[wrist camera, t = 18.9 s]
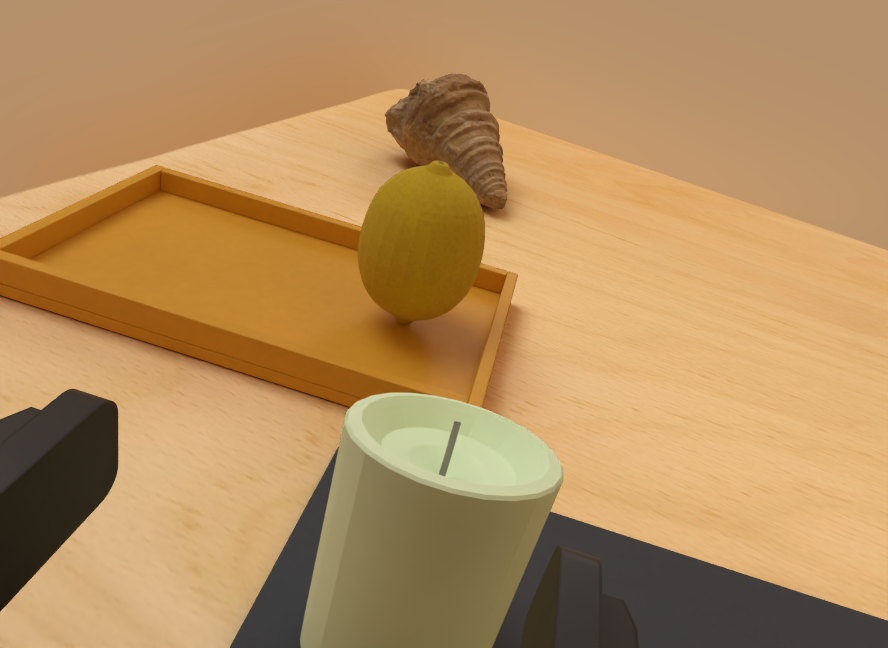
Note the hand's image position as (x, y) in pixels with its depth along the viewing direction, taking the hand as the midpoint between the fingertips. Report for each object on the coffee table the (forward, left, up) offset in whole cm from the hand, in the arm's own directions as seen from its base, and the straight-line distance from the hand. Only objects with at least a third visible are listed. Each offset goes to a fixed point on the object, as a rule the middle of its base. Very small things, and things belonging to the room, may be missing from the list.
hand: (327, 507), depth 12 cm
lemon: (-2, +20, -8) cm, 21 cm away
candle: (+2, +4, -8) cm, 9 cm away
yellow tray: (-8, +20, -8) cm, 23 cm away
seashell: (-5, +45, -8) cm, 46 cm away
